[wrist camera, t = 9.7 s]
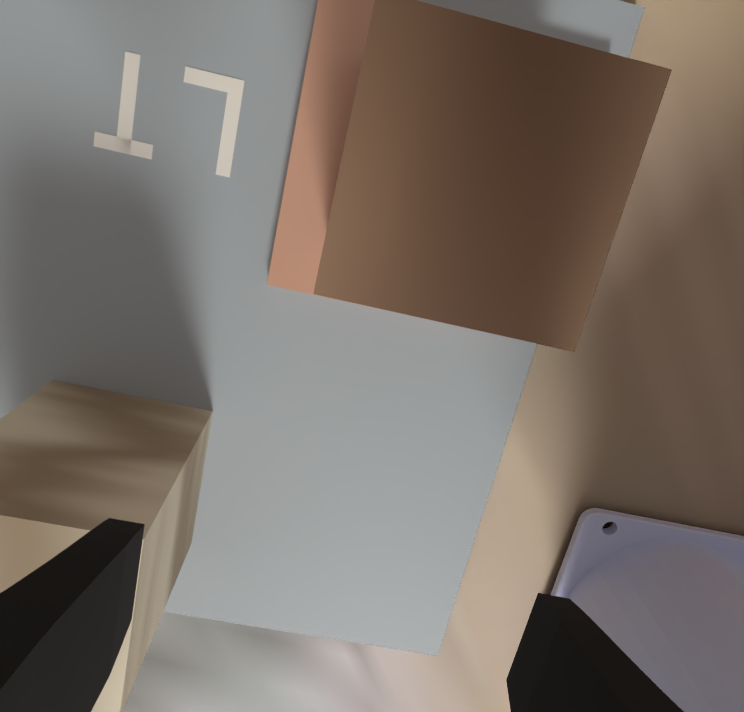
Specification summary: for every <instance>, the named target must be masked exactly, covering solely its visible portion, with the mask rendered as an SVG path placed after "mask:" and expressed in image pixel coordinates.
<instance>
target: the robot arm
mask: <svg viewBox="0 0 744 712" xmlns="http://www.w3.org/2000/svg"><path fill="white" fill-rule="evenodd" d="M607 522H613V523H612V525H611V526H610V527H608V528H602V527H603V526H604V524H605V523H607ZM144 526H145V524H141V523H135V522H130V521H124V520H118V519H112V518H108V519H107V520H105V521H104V522H102V523H100V524H99V525H98V526H96V527H95V528H93V529H92V530H91V531H89V532H88V533H87V534H85V535H84V536H82V537H81V538H80V539H78V540H77V541H76V542H74V543H73V544H71V545H70V546H69V547H67V548H66V549H64V550H63V551H62V552H60V553H59V554H57V555H56V556H55V557H53V558H52V559H50V560H49V561H48V562H46V563H45V564H43V565H42V566H40V567H39V568H37V569H36V570H34V571H33V572H31V573H30V574H28V575H27V576H25V577H24V578H22V579H21V580H19V581H18V582H16V583H15V584H14V585H12V586H10V587H9V588H7V589H6V590H4V591H3V592H1V593H0V712H91V711H92V709H93V707H94V705H95V703H96V701H97V699H98V697H99V695H100V694H101V692H102V690H103V688H104V686H105V684H106V682H107V680H108V678H109V676H110V674H111V671H112V669H113V666H114V664H115V661H116V659H117V656H118V654H119V651H120V649H121V646H122V643H123V641H124V638H125V636H126V633H127V630H128V628H129V625H130V623H131V620H132V613H133V606H134V599H135V591H136V584H137V577H138V569H139V562H140V555H141V547H142V540H143V533H144ZM507 687H508V694H509V701H510V708H511V712H744V536H741V535H736V534H731V533H726V532H720V531H715V530H710V529H705V528H699V527H694V526H689V525H684V524H678V523H673V522H668V521H663V520H657V519H652V518H647V517H642V516H636V515H631V514H626V513H621V512H615V511H610V510H605V509H600V508H590V509H587V510H585V511H584V512H583V513H582V514H581V516H580V517H579V519H578V522H577V525H576V528H575V530H574V533H573V536H572V538H571V541H570V544H569V546H568V549H567V552H566V554H565V557H564V560H563V562H562V565H561V568H560V570H559V573H558V576H557V578H556V581H555V584H554V587H553V589H552V592H551V595H547V594H541V593H538V595H537V598H536V600H535V603H534V606H533V609H532V611H531V614H530V617H529V620H528V622H527V625H526V628H525V631H524V633H523V636H522V639H521V642H520V644H519V647H518V650H517V652H516V655H515V658H514V661H513V663H512V666H511V669H510V672H509V674H508V677H507Z"/></svg>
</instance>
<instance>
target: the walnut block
mask: <svg viewBox="0 0 744 712" xmlns="http://www.w3.org/2000/svg"><path fill="white" fill-rule="evenodd" d="M670 73H671V69H667V68H663V67H660V66H656V65H652V64H649V63H645V62H641V61H638V60H634V59H630V58H627V57H623V56H619V55H616V54H612V53H608V52H605V51H601V50H597V49H594V48H590V47H586V46H583V45H579V44H575V43H572V42H568V41H564V40H561V39H557V38H553V37H550V36H546V35H542V34H539V33H535V32H531V31H528V30H524V29H520V28H517V27H513V26H509V25H506V24H502V23H498V22H495V21H491V20H487V19H484V18H480V17H476V16H473V15H469V14H465V13H462V12H458V11H454V10H451V9H447V8H443V7H440V6H436V5H432V4H429V3H425V2H421V1H418V0H375V2H374V7H373V11H372V16H371V21H370V26H369V30H368V35H367V40H366V45H365V50H364V54H363V59H362V64H361V69H360V73H359V78H358V83H357V88H356V92H355V97H354V102H353V107H352V112H351V116H350V121H349V126H348V131H347V135H346V140H345V145H344V150H343V154H342V159H341V164H340V169H339V174H338V178H337V183H336V188H335V193H334V197H333V202H332V207H331V212H330V217H329V221H328V226H327V231H326V236H325V240H324V245H323V250H322V255H321V259H320V264H319V269H318V274H317V279H316V283H315V288H314V293H313V294H315V295H320V296H324V297H329V298H333V299H338V300H342V301H347V302H351V303H356V304H360V305H365V306H370V307H374V308H379V309H383V310H388V311H392V312H397V313H401V314H406V315H410V316H415V317H419V318H424V319H428V320H433V321H437V322H442V323H446V324H451V325H455V326H460V327H464V328H469V329H473V330H478V331H482V332H487V333H491V334H496V335H500V336H505V337H509V338H514V339H518V340H523V341H527V342H532V343H536V344H541V345H546V346H550V347H555V348H559V349H564V350H568V351H573V352H574V351H575V348H576V345H577V342H578V339H579V337H580V334H581V331H582V328H583V325H584V322H585V319H586V316H587V313H588V310H589V308H590V305H591V302H592V299H593V296H594V293H595V290H596V287H597V284H598V282H599V279H600V276H601V273H602V270H603V267H604V264H605V261H606V258H607V256H608V253H609V250H610V247H611V244H612V241H613V238H614V235H615V232H616V229H617V227H618V224H619V221H620V218H621V215H622V212H623V209H624V206H625V203H626V201H627V198H628V195H629V192H630V189H631V186H632V183H633V180H634V177H635V175H636V172H637V169H638V166H639V163H640V160H641V157H642V154H643V151H644V148H645V146H646V143H647V140H648V137H649V134H650V131H651V128H652V125H653V122H654V120H655V117H656V114H657V111H658V108H659V105H660V102H661V99H662V96H663V94H664V91H665V88H666V85H667V82H668V79H669V76H670Z"/></svg>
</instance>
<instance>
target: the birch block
mask: <svg viewBox="0 0 744 712" xmlns="http://www.w3.org/2000/svg"><path fill="white" fill-rule="evenodd" d="M212 415H213V411H209V410H204V409H199V408H194V407H189V406H184V405H179V404H173V403H168V402H163V401H158V400H153V399H148V398H143V397H137V396H132V395H127V394H122V393H117V392H112V391H107V390H101V389H96V388H91V387H86V386H81V385H76V384H70V383H65V382H60V381H55V380H51V381H50V382H49V383H47V384H46V385H45V386H44V387H42V388H41V389H40V390H38V391H37V392H36V393H34V394H33V395H32V396H30V397H29V398H28V399H26V400H25V401H24V402H22V403H21V404H20V405H18V406H17V407H16V408H14V409H13V410H12V411H10V412H9V413H8V414H6V415H5V416H4V417H2V418H1V419H0V593H1V592H3V591H4V590H6V589H7V588H9V587H10V586H12V585H14V584H15V583H16V582H18V581H19V580H21V579H22V578H24V577H25V576H27V575H28V574H30V573H31V572H33V571H34V570H36V569H37V568H39V567H40V566H42V565H43V564H45V563H46V562H48V561H49V560H50V559H52V558H53V557H55V556H56V555H57V554H59V553H60V552H62V551H63V550H64V549H66V548H67V547H69V546H70V545H71V544H73V543H74V542H76V541H77V540H78V539H80V538H81V537H82V536H84V535H85V534H87V533H88V532H89V531H91V530H92V529H93V528H95V527H96V526H98V525H99V524H100V523H102V522H104V521H105V520H107V519H108V518H112V519H118V520H124V521H130V522H135V523H141V524H145V526H144V533H143V540H142V547H141V555H140V562H139V569H138V577H137V584H136V591H135V599H134V606H133V613H132V620H131V623H130V625H129V628H128V630H127V633H126V636H125V638H124V641H123V643H122V646H121V649H120V651H119V654H118V656H117V659H116V661H115V664H114V666H113V669H112V671H111V674H110V676H109V678H108V680H107V682H106V684H105V686H104V688H103V690H102V692H101V694H100V695H99V697H98V699H97V701H96V703H95V705H94V707H93V709H92V711H91V712H122V711H123V708H124V706H125V704H126V701H127V699H128V696H129V694H130V691H131V689H132V687H133V684H134V682H135V679H136V677H137V674H138V672H139V670H140V667H141V665H142V662H143V660H144V657H145V655H146V653H147V650H148V648H149V645H150V643H151V640H152V638H153V636H154V633H155V631H156V628H157V626H158V623H159V621H160V619H161V616H162V614H163V611H164V609H165V606H166V604H167V602H168V599H169V597H170V594H171V592H172V589H173V587H174V585H175V582H176V580H177V577H178V575H179V572H180V570H181V568H182V565H183V563H184V560H185V558H186V555H187V553H188V551H189V548H190V546H191V543H192V536H193V530H194V524H195V518H196V512H197V506H198V500H199V494H200V488H201V482H202V476H203V469H204V463H205V457H206V451H207V445H208V439H209V433H210V427H211V421H212Z"/></svg>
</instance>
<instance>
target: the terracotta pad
mask: <svg viewBox="0 0 744 712" xmlns="http://www.w3.org/2000/svg"><path fill="white" fill-rule="evenodd" d="M374 2H375V0H318V3H317V8H316V14H315V19H314V25H313V31H312V36H311V42H310V47H309V53H308V58H307V64H306V69H305V75H304V81H303V86H302V92H301V97H300V103H299V108H298V114H297V119H296V125H295V131H294V136H293V142H292V147H291V153H290V158H289V164H288V169H287V175H286V181H285V186H284V192H283V197H282V203H281V208H280V214H279V219H278V225H277V231H276V236H275V242H274V247H273V253H272V258H271V264H270V269H269V275H268V281H267V285H271V286H275V287H280V288H285V289H289V290H294V291H298V292H303V293H308V294H312V295H315V294H313V293H314V288H315V283H316V279H317V274H318V269H319V264H320V259H321V255H322V250H323V245H324V240H325V236H326V231H327V226H328V221H329V217H330V212H331V207H332V202H333V197H334V193H335V188H336V183H337V178H338V174H339V169H340V164H341V159H342V154H343V150H344V145H345V140H346V135H347V131H348V126H349V121H350V116H351V112H352V107H353V102H354V97H355V92H356V88H357V83H358V78H359V73H360V69H361V64H362V59H363V54H364V50H365V45H366V40H367V35H368V30H369V26H370V21H371V16H372V11H373V7H374ZM317 296H320V295H317ZM322 297H324V296H322ZM326 298H329V297H326ZM331 299H333V298H331ZM336 300H338V299H336ZM340 301H342V300H340ZM345 302H347V301H345ZM350 303H351V302H350ZM354 304H356V303H354ZM359 305H360V304H359ZM363 306H365V305H363ZM368 307H370V306H368ZM373 308H374V307H373ZM377 309H379V308H377ZM382 310H383V309H382ZM387 311H388V310H387ZM391 312H392V311H391ZM396 313H397V312H396ZM405 315H406V314H405ZM414 317H415V316H414Z"/></svg>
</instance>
